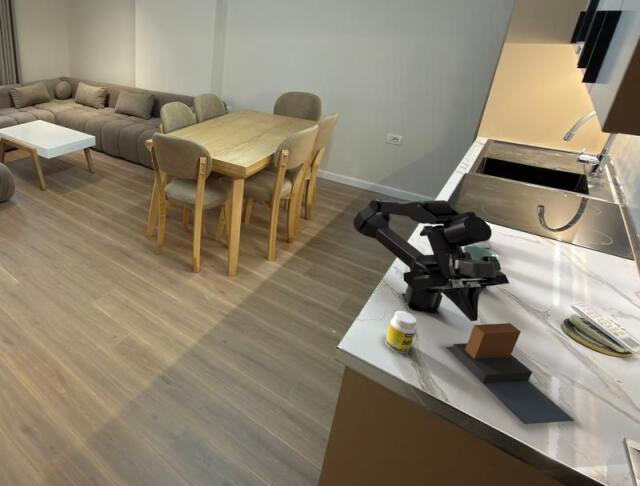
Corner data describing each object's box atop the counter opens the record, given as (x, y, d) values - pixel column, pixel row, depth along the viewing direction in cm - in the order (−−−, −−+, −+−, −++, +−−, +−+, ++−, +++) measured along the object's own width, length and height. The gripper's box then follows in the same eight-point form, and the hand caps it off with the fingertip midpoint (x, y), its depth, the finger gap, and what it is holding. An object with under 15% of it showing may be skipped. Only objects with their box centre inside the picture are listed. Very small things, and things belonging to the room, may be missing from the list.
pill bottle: (482, 259, 122) (492, 231, 118) (485, 268, 117) (495, 240, 114) (460, 254, 124) (469, 227, 121) (462, 262, 120) (471, 234, 117)
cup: (489, 296, 106) (501, 265, 102) (452, 285, 110) (463, 255, 107) (487, 281, 112) (498, 251, 108) (452, 271, 116) (462, 242, 112)
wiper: (450, 352, 88) (462, 318, 85) (492, 349, 89) (506, 316, 85) (482, 383, 81) (497, 348, 77) (528, 380, 81) (545, 345, 78)
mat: (444, 348, 90) (445, 346, 89) (486, 346, 90) (486, 344, 90) (523, 425, 73) (524, 423, 73) (573, 422, 73) (574, 420, 73)
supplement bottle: (401, 357, 87) (410, 327, 85) (380, 342, 91) (388, 313, 88) (413, 349, 90) (423, 320, 87) (392, 335, 93) (400, 306, 91)
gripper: (435, 245, 86) (463, 321, 80) (515, 241, 87) (550, 317, 81) (401, 254, 96) (424, 323, 90) (473, 251, 97) (501, 319, 91)
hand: (474, 320), depth 87 cm, fingers closed
